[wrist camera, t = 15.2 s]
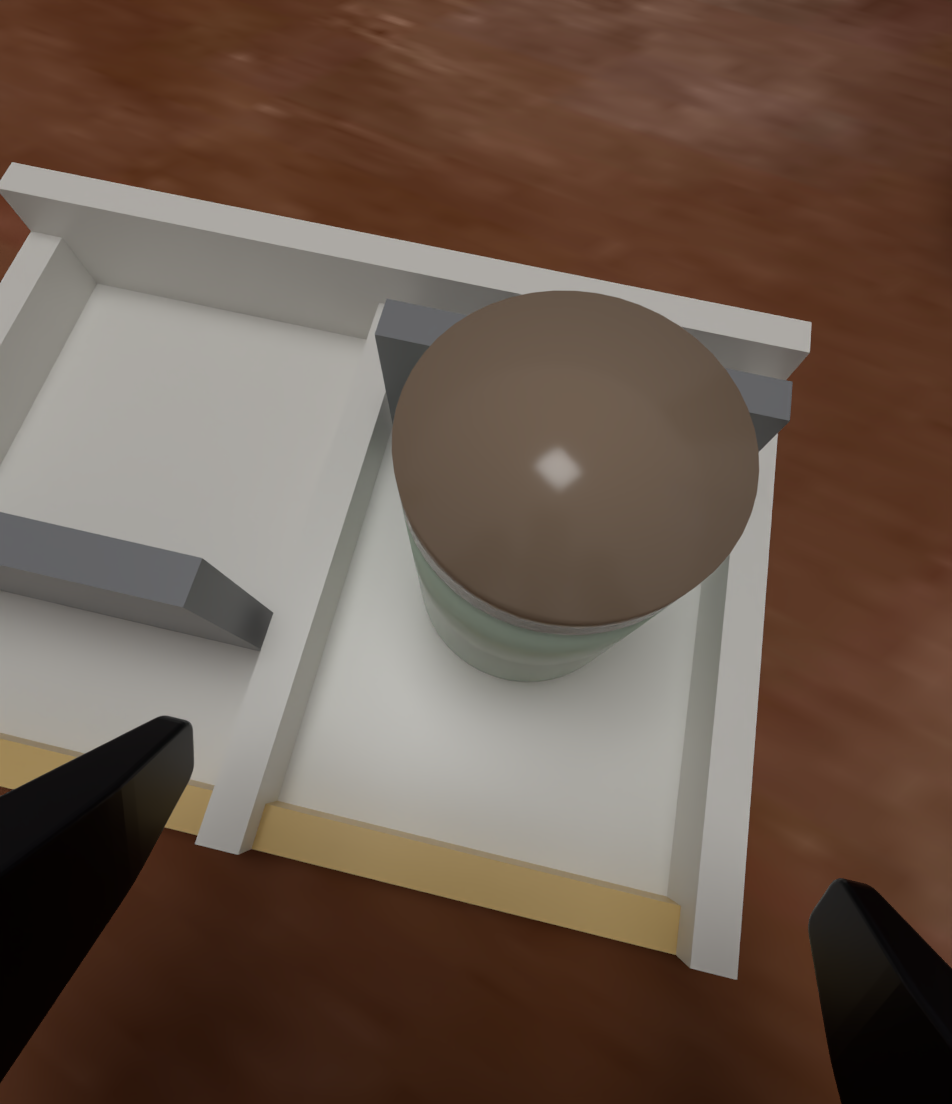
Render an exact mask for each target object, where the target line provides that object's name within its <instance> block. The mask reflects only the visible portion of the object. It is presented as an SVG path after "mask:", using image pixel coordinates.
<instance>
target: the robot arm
mask: <svg viewBox="0 0 952 1104" xmlns="http://www.w3.org/2000/svg"><path fill="white" fill-rule="evenodd" d="M193 768H194V741H193V726H192V724H191V723H190V722H189V721H187V720H184V719H179V718H175V717H171V716H166V715H164V716H159V717H156V718H154V719H152V720H150V721H148V722H146V723H144V724H142V725H140V726H138V727H136V728H134V729H132V730H130V731H128V732H126V733H124V734H122V735H120V736H119V737H117V738H115V739H113V740H111V741H109V742H107V743H105V744H103V745H101V746H99V747H97V748H95V749H93V750H91V751H89V752H87V753H85V754H83V755H81V756H79V757H77V758H75V759H73V760H71V761H69V762H67V763H65V764H63V765H61V766H59V767H57V768H55V769H53V770H51V771H49V772H47V773H45V774H43V775H41V776H39V777H37V778H35V779H33V780H31V781H29V782H27V783H25V784H24V785H22V786H20V787H18V788H16V789H14V790H12V791H10V792H8V793H6V794H4V795H2V796H0V1083H1V1081H2V1080H3V1078H4V1077H5V1075H6V1074H7V1072H8V1071H9V1069H10V1068H11V1066H12V1065H13V1063H14V1062H15V1060H16V1059H17V1057H18V1056H19V1054H20V1053H21V1051H22V1050H23V1049H24V1047H25V1046H26V1044H27V1043H28V1041H29V1040H30V1038H31V1037H32V1035H33V1034H34V1032H35V1031H36V1029H37V1028H38V1026H39V1025H40V1023H41V1022H42V1020H43V1019H44V1017H45V1016H46V1014H47V1013H48V1011H49V1010H50V1008H51V1007H52V1005H53V1004H54V1002H55V1001H56V999H57V998H58V996H59V995H60V993H61V992H62V990H63V989H64V987H65V986H66V984H67V983H68V981H69V980H70V979H71V977H72V976H73V974H74V973H75V971H76V970H77V968H78V967H79V965H80V964H81V962H82V961H83V959H84V958H85V956H86V955H87V953H88V952H89V950H90V949H91V947H92V946H93V944H94V943H95V941H96V940H97V938H98V937H99V935H100V934H101V932H102V931H103V929H104V928H105V926H106V925H107V923H108V922H109V920H110V919H111V917H112V916H113V914H114V913H115V911H116V910H117V908H118V907H119V906H120V904H121V902H122V901H123V899H124V898H125V896H126V895H127V893H128V892H129V890H130V888H131V887H132V885H133V883H134V882H135V880H136V878H137V876H138V875H139V873H140V871H141V869H142V868H143V866H144V864H145V862H146V860H147V858H148V856H149V855H150V853H151V851H152V849H153V847H154V845H155V843H156V842H157V840H158V838H159V836H160V834H161V832H162V830H163V829H164V827H165V825H166V823H167V821H168V819H169V817H170V816H171V814H172V812H173V810H174V808H175V806H176V804H177V803H178V801H179V799H180V797H181V795H182V793H183V792H184V790H185V788H186V786H187V784H188V782H189V780H190V778H191V775H192V772H193ZM808 931H809V939H810V945H811V951H812V956H813V962H814V968H815V974H816V980H817V986H818V992H819V997H820V1003H821V1009H822V1015H823V1021H824V1027H825V1033H826V1038H827V1044H828V1049H829V1054H830V1059H831V1064H832V1068H833V1072H834V1076H835V1080H836V1084H837V1088H838V1092H839V1096H840V1100H841V1103H842V1104H952V968H951V967H950V966H949V965H948V964H947V963H946V962H945V961H944V960H943V959H942V958H941V957H940V956H939V955H938V954H937V953H936V952H935V951H934V950H933V949H932V948H931V947H930V946H929V945H928V944H927V943H926V941H925V940H924V939H923V938H922V937H921V936H920V935H919V934H918V933H917V932H916V931H915V930H914V929H913V928H912V927H911V926H910V925H909V924H908V923H907V922H906V921H905V920H904V919H903V918H902V917H901V916H900V914H899V913H898V912H897V911H896V910H895V909H894V908H893V907H892V906H891V905H890V904H889V903H888V902H887V901H886V900H885V899H884V898H883V897H882V896H881V895H880V894H879V893H878V892H877V891H876V890H875V889H874V888H872V887H871V886H869V885H867V884H864V883H860V882H856V881H851V880H847V879H843V878H839V879H837V880H834V881H833V882H832V883H831V885H830V886H829V888H828V889H827V890H826V892H825V893H824V895H823V896H822V898H821V899H820V901H819V902H818V904H817V905H816V907H815V908H814V910H813V911H812V913H811V915H810V919H809V925H808Z"/></svg>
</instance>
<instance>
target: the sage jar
mask: <svg viewBox="0 0 952 1104" xmlns="http://www.w3.org/2000/svg"><path fill="white" fill-rule="evenodd" d="M392 459H393V467H394V474H395V479H396V483H397V487H398V492H399V496H400V500H401V505H402V509H403V514H404V518H405V522H406V527H407V531H408V536H409V540H410V544H411V549H412V553H413V558H414V562H415V566H416V571H417V575H418V579H419V584H420V588H421V593H422V597H423V601H424V605H425V608H426V611H427V614H428V616H429V619H430V621H431V623H432V625H433V627H434V628H435V630H436V632H437V633H438V635H439V636H440V638H441V639H442V640H443V641H444V643H445V644H446V645H447V646H448V647H449V648H450V649H451V650H452V651H453V652H454V653H455V654H456V655H457V656H458V657H459V658H461V659H462V660H463V661H465V662H466V663H467V664H469V665H471V666H472V667H474V668H476V669H478V670H479V671H481V672H484V673H486V674H489V675H491V676H494V677H497V678H501V679H505V680H510V681H519V682H539V681H546V680H552V679H555V678H559V677H562V676H565V675H567V674H570V673H572V672H574V671H576V670H578V669H580V668H581V667H583V666H585V665H586V664H588V663H589V662H591V661H592V660H594V659H595V658H596V657H598V656H599V655H601V654H602V653H603V652H605V651H606V650H608V649H609V648H611V647H612V646H613V645H615V644H616V643H618V642H619V641H620V640H622V639H623V638H625V637H626V636H627V635H629V634H630V633H632V632H633V631H634V630H636V629H637V628H639V627H640V626H641V625H643V624H644V623H646V622H647V621H649V620H650V619H651V618H653V617H654V616H656V615H657V614H658V613H660V612H661V611H663V610H664V609H665V608H667V607H668V606H670V605H671V604H672V603H674V602H675V601H677V600H678V599H679V598H681V597H682V596H684V595H685V594H687V593H688V592H689V591H691V590H692V589H694V588H695V587H696V586H698V585H699V584H700V583H701V582H702V581H704V580H705V579H706V578H707V577H708V576H709V575H711V574H712V573H713V572H714V571H715V570H716V569H717V568H718V567H719V566H720V565H721V563H722V562H723V561H724V560H725V559H726V558H727V557H728V555H729V554H730V553H731V551H732V550H733V548H734V547H735V545H736V544H737V542H738V540H739V539H740V537H741V536H742V534H743V532H744V530H745V527H746V525H747V523H748V520H749V518H750V516H751V513H752V510H753V506H754V502H755V498H756V495H757V488H758V479H759V450H758V445H757V439H756V434H755V428H754V425H753V422H752V419H751V416H750V413H749V410H748V407H747V405H746V403H745V401H744V399H743V397H742V395H741V393H740V391H739V389H738V387H737V386H736V384H735V383H734V381H733V380H732V378H731V377H730V375H729V373H728V372H727V370H726V369H725V368H724V367H723V366H722V364H721V363H720V362H719V361H718V360H717V358H716V357H715V356H714V355H713V354H712V353H711V352H710V351H709V350H708V349H707V348H706V347H705V346H704V345H703V344H702V343H701V342H700V341H699V340H697V339H696V338H695V337H694V336H692V335H691V334H690V333H688V332H687V331H686V330H684V329H683V328H682V327H680V326H679V325H677V324H676V323H674V322H672V321H671V320H669V319H667V318H666V317H664V316H662V315H661V314H659V313H656V312H654V311H652V310H650V309H648V308H645V307H643V306H641V305H639V304H636V303H633V302H630V301H627V300H624V299H621V298H617V297H613V296H608V295H603V294H599V293H592V292H583V291H544V292H534V293H528V294H524V295H519V296H514V297H510V298H507V299H504V300H501V301H498V302H495V303H492V304H490V305H488V306H486V307H483V308H481V309H479V310H477V311H475V312H473V313H471V314H469V315H468V316H466V317H465V318H463V319H462V320H460V321H458V322H457V323H455V324H454V325H453V326H451V327H450V328H449V329H448V330H447V331H445V332H444V333H443V334H442V335H440V336H439V337H438V338H437V339H436V340H435V341H434V342H433V343H432V345H431V346H430V347H429V348H428V349H427V350H426V351H425V352H424V353H423V355H422V356H421V358H420V359H419V361H418V362H417V363H416V365H415V366H414V368H413V369H412V371H411V373H410V375H409V377H408V379H407V381H406V383H405V385H404V387H403V389H402V392H401V395H400V398H399V401H398V404H397V407H396V411H395V416H394V422H393V427H392Z"/></svg>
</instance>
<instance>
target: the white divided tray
mask: <svg viewBox="0 0 952 1104" xmlns="http://www.w3.org/2000/svg"><path fill="white" fill-rule="evenodd" d="M0 194H1V195H2V196H3V197H4V198H5V200H6V201H7V202H8V203H9V205H10V206H11V207H12V208H13V209H14V211H15V212H16V213H17V214H18V216H19V217H20V218H21V219H22V221H23V222H24V223H25V224H26V225H27V227H28V228H29V229H30V230H31V232H30V234H29V236H28V237H27V239H26V241H25V242H24V244H23V246H22V248H21V249H20V251H19V253H18V254H17V256H16V258H15V259H14V261H13V263H12V264H11V266H10V268H9V269H8V271H7V273H6V274H5V276H4V278H3V279H2V281H1V283H0V786H2V787H6V788H10V789H16V788H18V787H20V786H22V785H24V784H25V783H27V782H29V781H31V780H33V779H35V778H37V777H39V776H41V775H43V774H45V773H47V772H49V771H51V770H53V769H55V768H57V767H59V766H61V765H63V764H65V763H67V762H69V761H71V760H73V759H75V758H77V757H79V756H81V755H83V754H85V753H87V752H89V751H91V750H93V749H95V748H97V747H99V746H101V745H103V744H105V743H107V742H109V741H111V740H113V739H115V738H117V737H119V736H120V735H122V734H124V733H126V732H128V731H130V730H132V729H134V728H136V727H138V726H140V725H142V724H144V723H146V722H148V721H150V720H152V719H154V718H156V717H159V716H164V715H166V716H171V717H175V718H179V719H184V720H187V721H189V722H190V723H191V724H192V726H193V741H194V768H193V772H192V775H191V778H190V780H189V782H188V784H187V786H186V788H185V790H184V792H183V793H182V795H181V797H180V799H179V801H178V803H177V804H176V806H175V808H174V810H173V812H172V814H171V816H170V817H169V819H168V821H167V823H166V825H165V827H166V828H170V829H174V830H178V831H182V832H186V833H190V834H194V835H198V836H197V838H196V841H195V844H197V845H201V846H205V847H209V848H213V849H217V850H221V851H225V852H229V853H233V854H237V855H239V854H241V853H243V852H246V851H248V850H250V849H254V850H258V851H262V852H266V853H270V854H274V855H278V856H282V857H286V858H290V859H294V860H298V861H302V862H306V863H310V864H314V865H318V866H322V867H326V868H330V869H334V870H338V871H342V872H346V873H350V874H354V875H358V876H362V877H366V878H370V879H374V880H378V881H382V882H386V883H390V884H394V885H398V886H402V887H406V888H410V889H414V890H418V891H422V892H426V893H430V894H434V895H438V896H442V897H446V898H450V899H454V900H458V901H462V902H466V903H470V904H474V905H478V906H482V907H486V908H490V909H494V910H498V911H502V912H506V913H510V914H514V915H518V916H522V917H526V918H530V919H534V920H538V921H542V922H546V923H550V924H554V925H558V926H562V927H566V928H570V929H574V930H578V931H582V932H586V933H590V934H594V935H598V936H602V937H606V938H610V939H614V940H618V941H622V942H626V943H630V944H634V945H638V946H642V947H646V948H650V949H654V950H658V951H662V952H666V953H670V954H674V955H676V956H677V957H678V958H680V959H681V960H682V961H683V962H684V963H685V964H686V965H687V966H688V967H689V968H691V969H695V970H699V971H703V972H707V973H711V974H715V975H719V976H723V977H727V978H731V979H735V980H737V975H738V962H739V948H740V935H741V921H742V908H743V894H744V881H745V867H746V854H747V841H748V827H749V814H750V800H751V787H752V773H753V760H754V746H755V733H756V719H757V706H758V692H759V679H760V666H761V652H762V639H763V625H764V612H765V598H766V585H767V571H768V558H769V544H770V531H771V518H772V504H773V491H774V477H775V464H776V450H777V437H778V433H777V434H776V435H775V436H774V437H773V438H772V439H771V440H770V441H769V442H768V443H767V444H766V445H765V446H764V447H763V448H762V449H761V450H760V451H759V479H758V488H757V495H756V498H755V502H754V506H753V510H752V513H751V516H750V518H749V520H748V523H747V525H746V527H745V530H744V532H743V534H742V536H741V537H740V539H739V540H738V542H737V544H736V545H735V547H734V548H733V550H732V551H731V553H730V554H729V555H728V557H727V558H726V559H725V560H724V561H723V562H722V563H721V565H720V566H719V567H718V568H717V569H716V570H715V571H714V572H713V573H712V574H711V575H709V576H708V577H707V578H706V579H705V580H704V581H702V582H701V583H700V584H699V585H698V586H696V587H695V588H694V589H692V590H691V591H689V592H688V593H687V594H685V595H684V596H682V597H681V598H679V599H678V600H677V601H675V602H674V603H672V604H671V605H670V606H668V607H667V608H665V609H664V610H663V611H661V612H660V613H658V614H657V615H656V616H654V617H653V618H651V619H650V620H649V621H647V622H646V623H644V624H643V625H641V626H640V627H639V628H637V629H636V630H634V631H633V632H632V633H630V634H629V635H627V636H626V637H625V638H623V639H622V640H620V641H619V642H618V643H616V644H615V645H613V646H612V647H611V648H609V649H608V650H606V651H605V652H603V653H602V654H601V655H599V656H598V657H596V658H595V659H594V660H592V661H591V662H589V663H588V664H586V665H585V666H583V667H581V668H580V669H578V670H576V671H574V672H572V673H570V674H567V675H565V676H562V677H559V678H555V679H552V680H546V681H539V682H519V681H510V680H505V679H501V678H497V677H494V676H491V675H489V674H486V673H484V672H481V671H479V670H478V669H476V668H474V667H472V666H471V665H469V664H467V663H466V662H465V661H463V660H462V659H461V658H459V657H458V656H457V655H456V654H455V653H454V652H453V651H452V650H451V649H450V648H449V647H448V646H447V645H446V644H445V643H444V641H443V640H442V639H441V638H440V636H439V635H438V633H437V632H436V630H435V628H434V627H433V625H432V623H431V621H430V619H429V616H428V614H427V611H426V608H425V605H424V601H423V597H422V593H421V588H420V584H419V579H418V575H417V571H416V566H415V562H414V558H413V553H412V549H411V544H410V540H409V536H408V531H407V527H406V522H405V518H404V514H403V509H402V505H401V500H400V496H399V492H398V487H397V483H396V479H395V474H394V467H393V459H392V427H393V424H392V419H391V414H390V409H389V404H388V399H387V394H386V389H385V384H384V379H383V374H382V369H381V364H380V359H379V354H378V349H377V344H376V339H375V331H376V329H377V326H378V323H379V320H380V317H381V314H382V311H383V308H384V305H385V302H386V299H391V300H396V301H401V302H405V303H410V304H415V305H420V306H425V307H430V308H435V309H440V310H444V311H449V312H454V313H459V314H464V315H469V314H471V313H473V312H475V311H477V310H479V309H481V308H483V307H486V306H488V305H490V304H492V303H495V302H498V301H501V300H504V299H507V298H510V297H514V296H519V295H524V294H528V293H534V292H544V291H583V292H592V293H599V294H603V295H608V296H613V297H617V298H621V299H624V300H627V301H630V302H633V303H636V304H639V305H641V306H643V307H645V308H648V309H650V310H652V311H654V312H656V313H659V314H661V315H662V316H664V317H666V318H667V319H669V320H671V321H672V322H674V323H676V324H677V325H679V326H680V327H682V328H683V329H684V330H686V331H687V332H688V333H690V334H691V335H692V336H694V337H695V338H696V339H697V340H699V341H700V342H701V343H702V344H703V345H704V346H705V347H706V348H707V349H708V350H709V351H710V352H711V353H712V354H713V355H714V356H715V357H716V358H717V360H718V361H719V362H720V363H721V364H722V366H723V367H724V368H727V369H732V370H737V371H742V372H747V373H752V374H757V375H762V376H766V377H771V378H776V379H781V380H786V379H787V378H788V377H789V376H790V375H791V374H792V372H793V371H794V370H795V369H796V368H797V367H798V366H799V364H800V363H801V362H802V361H803V360H804V359H805V358H806V356H807V355H808V354H809V353H810V340H811V322H807V321H802V320H797V319H792V318H787V317H782V316H777V315H772V314H767V313H762V312H757V311H752V310H747V309H742V308H737V307H732V306H727V305H722V304H717V303H712V302H707V301H702V300H697V299H692V298H687V297H682V296H677V295H672V294H667V293H662V292H657V291H652V290H647V289H642V288H637V287H632V286H627V285H622V284H617V283H612V282H607V281H602V280H597V279H592V278H587V277H582V276H577V275H572V274H567V273H562V272H557V271H552V270H547V269H542V268H537V267H532V266H527V265H522V264H517V263H512V262H507V261H502V260H497V259H492V258H487V257H483V256H478V255H473V254H468V253H463V252H458V251H453V250H448V249H443V248H438V247H433V246H428V245H423V244H418V243H413V242H408V241H403V240H398V239H393V238H388V237H383V236H378V235H373V234H368V233H363V232H358V231H353V230H348V229H343V228H338V227H333V226H328V225H323V224H318V223H313V222H308V221H303V220H298V219H293V218H288V217H283V216H278V215H273V214H268V213H263V212H258V211H253V210H248V209H243V208H238V207H233V206H228V205H223V204H218V203H213V202H208V201H203V200H198V199H193V198H188V197H183V196H178V195H173V194H168V193H163V192H158V191H153V190H148V189H143V188H138V187H133V186H128V185H123V184H118V183H113V182H108V181H103V180H98V179H93V178H88V177H83V176H78V175H73V174H68V173H63V172H58V171H53V170H48V169H43V168H38V167H33V166H28V165H23V164H18V163H13V162H12V163H11V165H10V166H9V168H8V170H7V171H6V173H5V174H4V176H3V177H2V179H1V180H0Z"/></svg>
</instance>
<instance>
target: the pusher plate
mask: <svg viewBox="0 0 952 1104" xmlns="http://www.w3.org/2000/svg"><path fill="white" fill-rule="evenodd" d="M466 316H468V315H464V314H459V313H454V312H449V311H444V310H440V309H435V308H430V307H425V306H420V305H415V304H410V303H405V302H401V301H396V300H391V299H386V302H385V305H384V308H383V311H382V314H381V317H380V320H379V323H378V326H377V329H376V331H375V339H376V344H377V349H378V354H379V359H380V364H381V369H382V374H383V379H384V384H385V389H386V394H387V399H388V404H389V409H390V414H391V419H392V424H393V422H394V416H395V411H396V407H397V404H398V401H399V398H400V395H401V392H402V389H403V387H404V385H405V383H406V381H407V379H408V377H409V375H410V373H411V371H412V369H413V368H414V366H415V365H416V363H417V362H418V361H419V359H420V358H421V356H422V355H423V353H424V352H425V351H426V350H427V349H428V348H429V347H430V346H431V345H432V343H433V342H434V341H435V340H436V339H437V338H438V337H439V336H440V335H442V334H443V333H444V332H445V331H447V330H448V329H449V328H450V327H451V326H453V325H454V324H455V323H457V322H458V321H460V320H462V319H463V318H465V317H466ZM725 369H726V370H727V372H728V373H729V375H730V377H731V378H732V380H733V381H734V383H735V384H736V386H737V387H738V389H739V391H740V393H741V395H742V397H743V399H744V401H745V403H746V405H747V407H748V410H749V413H750V416H751V419H752V422H753V425H754V428H755V434H756V439H757V445H758V450H759V451H760V450H761V449H762V448H763V447H764V446H765V445H766V444H767V443H768V442H769V441H770V440H771V439H772V438H773V437H774V436H775V435H776V434H777V433H778V432H779V431H780V430H781V429H782V428H783V427H784V426H785V425H786V424H787V423H788V422H789V421H790V410H791V395H792V382H791V381H786V380H781V379H776V378H771V377H766V376H762V375H757V374H752V373H747V372H742V371H737V370H732V369H727V368H725Z"/></svg>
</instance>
